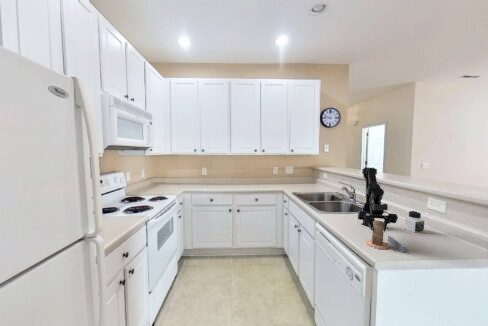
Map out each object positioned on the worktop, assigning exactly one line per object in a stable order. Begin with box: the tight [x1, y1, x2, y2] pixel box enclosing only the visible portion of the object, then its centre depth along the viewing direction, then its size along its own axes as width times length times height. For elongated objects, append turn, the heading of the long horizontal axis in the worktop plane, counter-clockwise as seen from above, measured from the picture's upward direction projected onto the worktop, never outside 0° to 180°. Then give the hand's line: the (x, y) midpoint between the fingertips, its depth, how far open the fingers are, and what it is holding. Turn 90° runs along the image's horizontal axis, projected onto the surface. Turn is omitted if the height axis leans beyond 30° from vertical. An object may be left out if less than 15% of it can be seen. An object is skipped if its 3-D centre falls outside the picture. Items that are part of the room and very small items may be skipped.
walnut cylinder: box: [371, 219, 384, 246], centre depth 124 cm, size 5×5×12 cm
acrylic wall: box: [387, 235, 406, 253], centre depth 122 cm, size 14×1×3 cm, turn 174°
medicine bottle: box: [404, 210, 425, 234], centre depth 146 cm, size 7×7×12 cm
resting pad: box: [365, 239, 390, 250], centre depth 124 cm, size 11×11×1 cm
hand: (378, 231), depth 122 cm, fingers open, 6 cm apart
